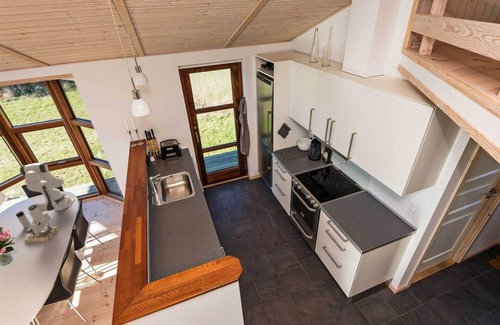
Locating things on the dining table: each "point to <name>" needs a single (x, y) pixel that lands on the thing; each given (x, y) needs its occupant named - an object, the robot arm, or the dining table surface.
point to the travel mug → (23, 219)
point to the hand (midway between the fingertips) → (45, 229)
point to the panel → (41, 236)
